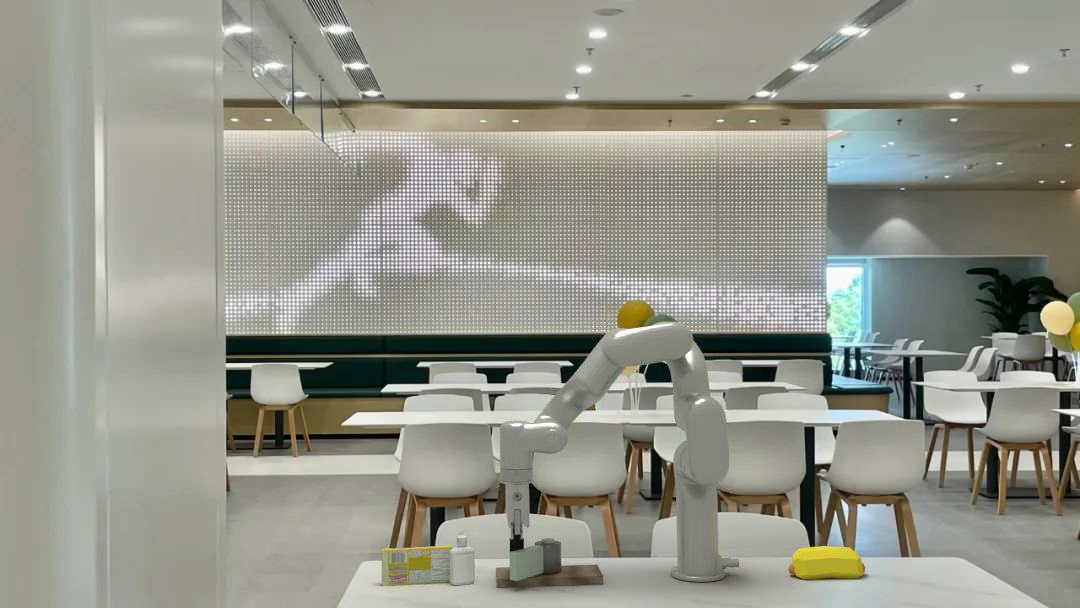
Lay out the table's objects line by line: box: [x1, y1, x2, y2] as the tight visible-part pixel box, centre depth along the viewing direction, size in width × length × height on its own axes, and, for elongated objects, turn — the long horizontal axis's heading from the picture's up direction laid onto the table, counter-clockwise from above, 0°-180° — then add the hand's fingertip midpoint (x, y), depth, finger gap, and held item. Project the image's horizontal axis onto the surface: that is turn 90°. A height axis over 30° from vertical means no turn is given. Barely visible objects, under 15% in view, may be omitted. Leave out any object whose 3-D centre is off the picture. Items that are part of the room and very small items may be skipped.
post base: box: [495, 564, 604, 589], centre depth 220 cm, size 24×10×2 cm, turn 94°
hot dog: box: [787, 545, 866, 580], centre depth 221 cm, size 18×7×8 cm
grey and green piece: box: [509, 537, 562, 581], centre depth 217 cm, size 15×6×7 cm, turn 139°
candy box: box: [381, 545, 453, 587], centre depth 219 cm, size 16×2×8 cm, turn 97°
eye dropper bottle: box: [449, 530, 476, 586], centre depth 219 cm, size 4×6×12 cm
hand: (516, 556), depth 216 cm, fingers closed
